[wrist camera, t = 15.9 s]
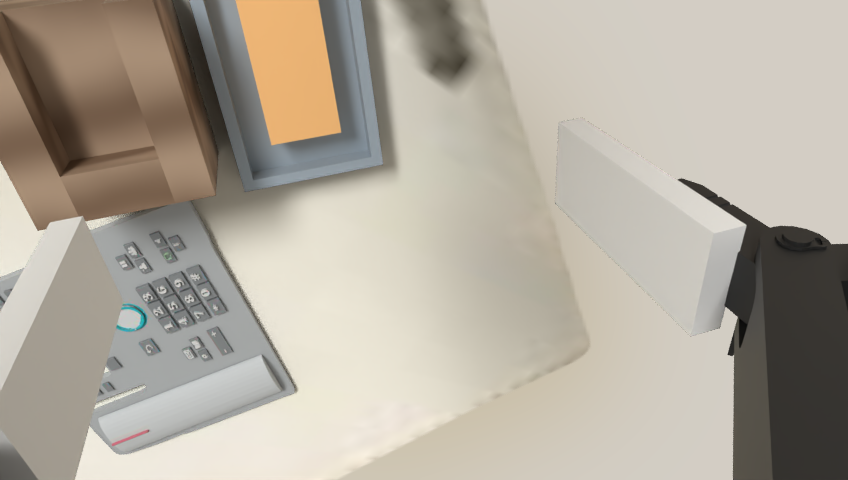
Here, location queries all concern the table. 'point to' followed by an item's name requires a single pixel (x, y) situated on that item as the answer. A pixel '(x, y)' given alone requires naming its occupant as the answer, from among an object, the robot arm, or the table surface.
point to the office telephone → (175, 333)
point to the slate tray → (244, 108)
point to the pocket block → (100, 109)
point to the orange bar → (290, 67)
